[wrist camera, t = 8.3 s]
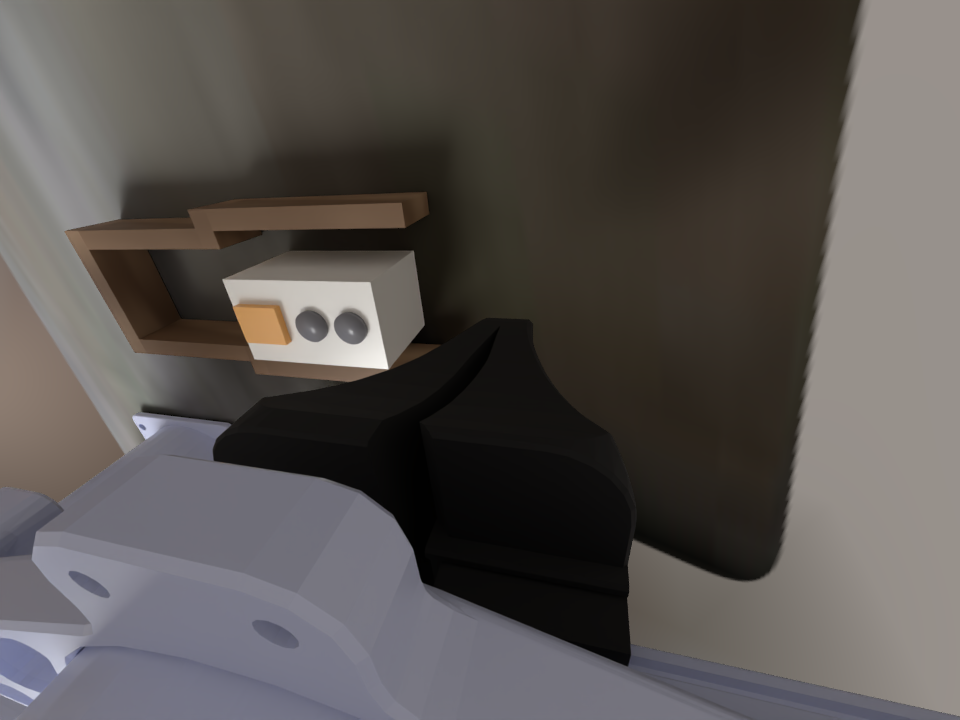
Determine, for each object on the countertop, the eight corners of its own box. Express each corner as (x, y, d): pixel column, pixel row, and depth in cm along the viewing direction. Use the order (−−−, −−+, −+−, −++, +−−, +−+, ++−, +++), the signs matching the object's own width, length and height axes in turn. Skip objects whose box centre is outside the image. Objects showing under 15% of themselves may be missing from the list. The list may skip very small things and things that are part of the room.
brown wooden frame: (447, 360, 19) (430, 388, 17) (181, 342, 22) (141, 364, 20) (426, 191, 15) (401, 202, 13) (111, 203, 19) (54, 213, 17)
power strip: (425, 323, 18) (385, 373, 15) (311, 318, 20) (249, 363, 16) (414, 250, 16) (366, 285, 13) (290, 250, 18) (215, 282, 14)
